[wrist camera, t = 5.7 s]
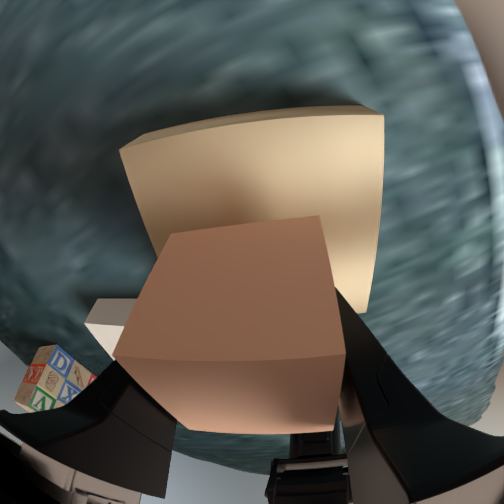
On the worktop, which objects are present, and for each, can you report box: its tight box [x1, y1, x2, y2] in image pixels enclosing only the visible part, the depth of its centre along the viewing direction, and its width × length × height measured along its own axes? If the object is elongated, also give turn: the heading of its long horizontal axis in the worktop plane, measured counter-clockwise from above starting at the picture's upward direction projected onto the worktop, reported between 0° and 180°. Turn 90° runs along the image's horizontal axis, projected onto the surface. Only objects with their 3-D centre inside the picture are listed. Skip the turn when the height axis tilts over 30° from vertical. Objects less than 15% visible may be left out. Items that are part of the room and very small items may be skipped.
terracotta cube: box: [112, 215, 346, 434], centre depth 9 cm, size 5×5×5 cm
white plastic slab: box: [84, 299, 137, 360], centre depth 20 cm, size 9×9×3 cm
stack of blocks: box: [14, 345, 97, 413], centre depth 27 cm, size 21×6×12 cm, turn 25°
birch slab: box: [119, 105, 384, 313], centre depth 13 cm, size 10×10×3 cm
